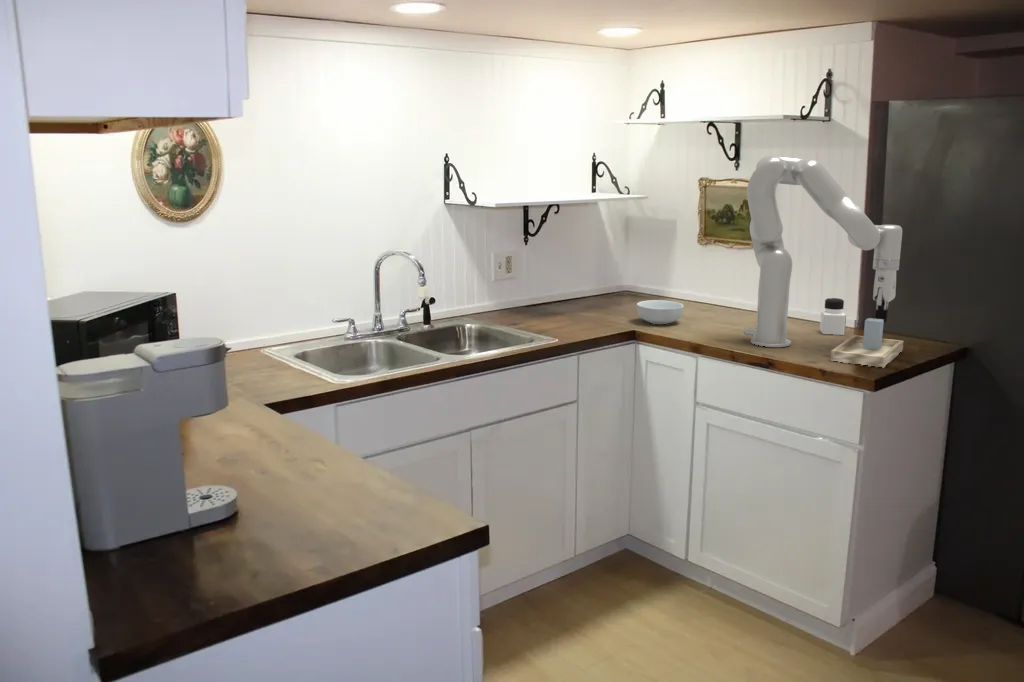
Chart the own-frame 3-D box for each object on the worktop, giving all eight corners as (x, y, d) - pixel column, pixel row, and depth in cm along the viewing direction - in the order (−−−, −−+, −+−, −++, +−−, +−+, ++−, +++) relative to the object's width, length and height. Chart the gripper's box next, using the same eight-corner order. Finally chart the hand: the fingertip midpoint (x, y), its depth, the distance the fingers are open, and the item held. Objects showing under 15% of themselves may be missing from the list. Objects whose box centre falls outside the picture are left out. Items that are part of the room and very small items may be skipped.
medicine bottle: (844, 335, 285) (847, 300, 282) (822, 334, 286) (825, 300, 284) (841, 331, 292) (843, 297, 289) (819, 330, 293) (822, 296, 291)
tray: (830, 361, 251) (831, 350, 250) (852, 344, 271) (853, 335, 271) (883, 368, 242) (884, 357, 241) (902, 350, 263) (903, 340, 262)
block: (862, 348, 261) (865, 320, 259) (866, 345, 264) (868, 317, 262) (877, 350, 258) (880, 321, 256) (881, 347, 262) (883, 319, 260)
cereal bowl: (632, 326, 303) (633, 306, 301) (639, 317, 318) (640, 299, 317) (680, 328, 298) (681, 309, 296) (685, 319, 313) (686, 301, 312)
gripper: (893, 268, 255) (888, 327, 259) (903, 262, 267) (898, 319, 271) (867, 266, 259) (862, 324, 263) (878, 261, 271) (873, 316, 275)
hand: (880, 321), depth 267 cm, fingers closed
